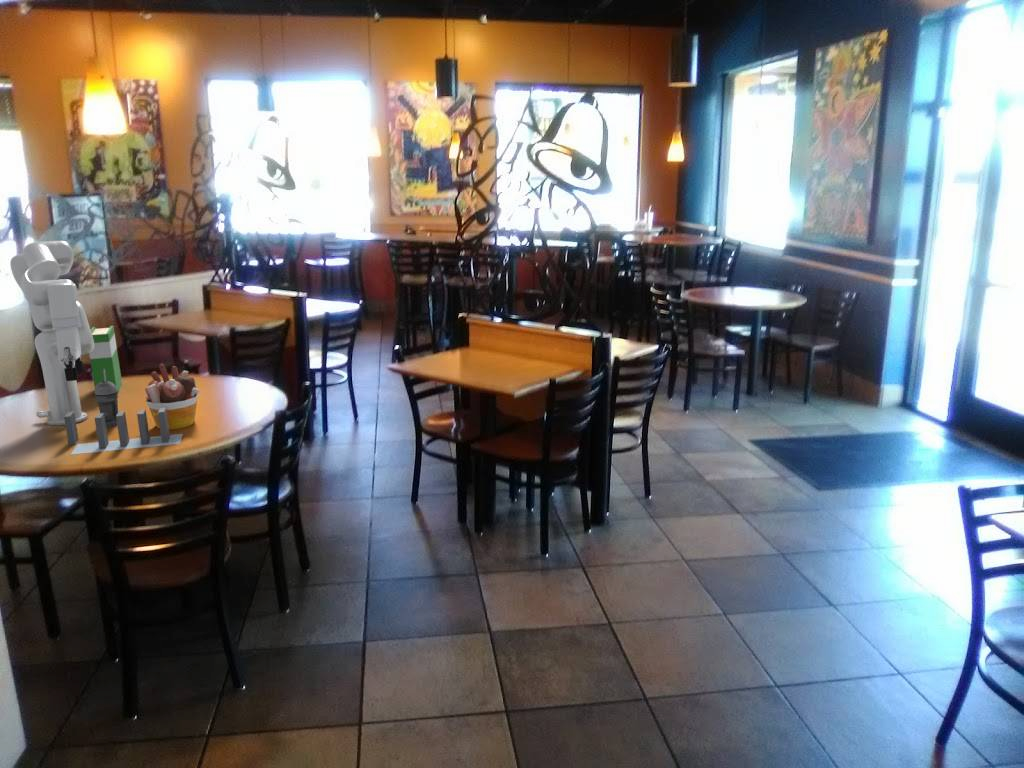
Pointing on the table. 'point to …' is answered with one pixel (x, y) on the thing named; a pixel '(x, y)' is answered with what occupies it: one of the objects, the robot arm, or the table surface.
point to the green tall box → (105, 357)
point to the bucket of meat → (173, 397)
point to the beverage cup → (107, 401)
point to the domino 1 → (71, 428)
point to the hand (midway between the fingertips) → (75, 376)
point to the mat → (132, 444)
